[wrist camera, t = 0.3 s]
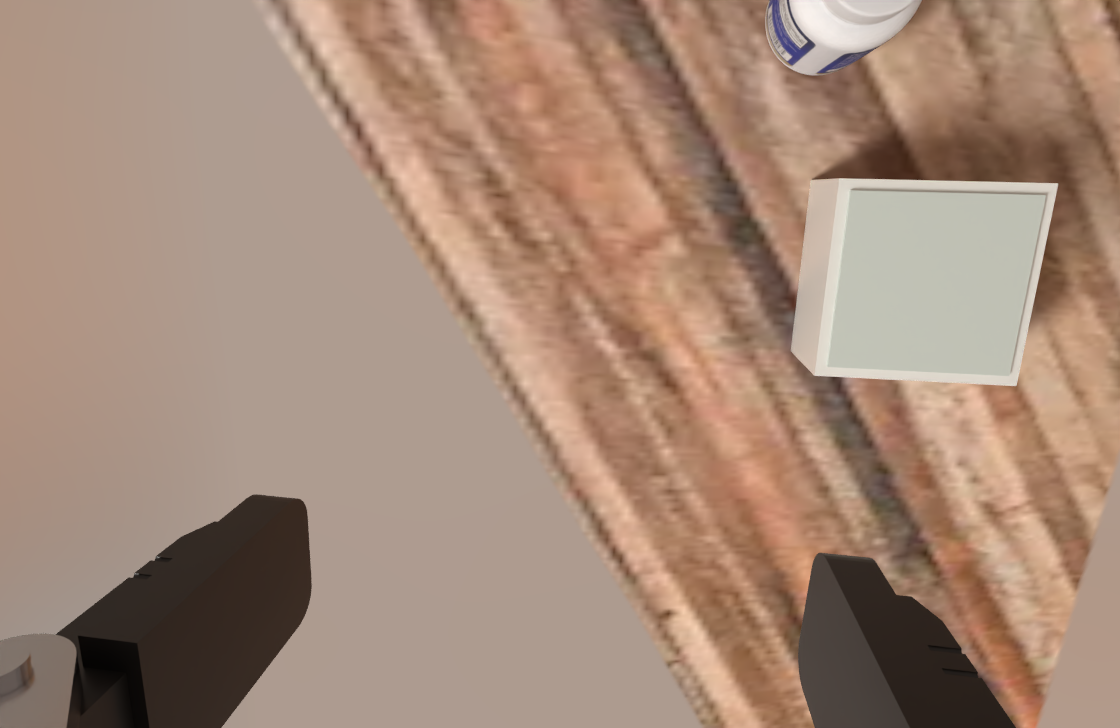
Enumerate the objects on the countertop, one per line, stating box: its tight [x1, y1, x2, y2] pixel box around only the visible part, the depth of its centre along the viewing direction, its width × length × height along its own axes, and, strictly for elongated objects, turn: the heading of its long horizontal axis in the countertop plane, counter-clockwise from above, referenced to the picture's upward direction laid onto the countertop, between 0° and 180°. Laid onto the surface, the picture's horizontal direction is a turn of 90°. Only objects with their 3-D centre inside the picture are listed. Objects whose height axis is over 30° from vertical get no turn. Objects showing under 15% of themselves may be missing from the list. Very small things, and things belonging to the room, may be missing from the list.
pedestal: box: [791, 178, 1058, 386], centre depth 32 cm, size 9×9×5 cm
